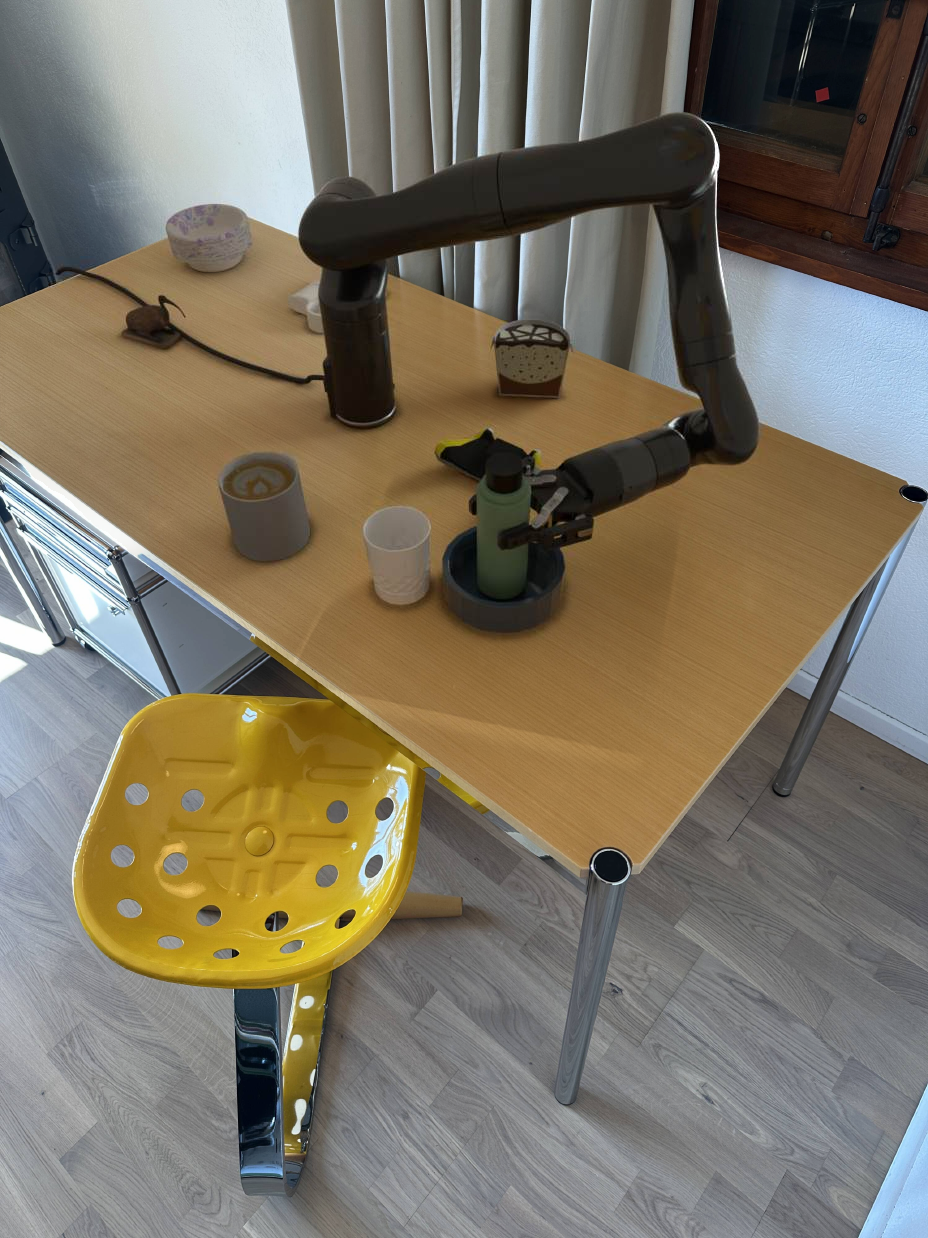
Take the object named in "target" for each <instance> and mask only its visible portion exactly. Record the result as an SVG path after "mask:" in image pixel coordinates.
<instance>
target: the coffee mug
mask: <svg viewBox="0 0 928 1238" xmlns="http://www.w3.org/2000/svg"><path fill="white" fill-rule="evenodd" d="M217 486H218V490H219V493H220V496H221V501H222V504H223V507H224V510H225V514H226V517H227V521H228V524H229V527H230V531H231V535H232V538H233V542H234V545H235V548H236V549H237V551H238V552H239V553H240V555H243V556H244V557H246V558H247V559H250V560H253V561H258V562H276V561H281V560H284V559H287V558H289V557H292V556H294V555H296V554H297V553H298V552H300V551H301V550H302V549H303V548H305V546H306V545H307V543H308V541H309V540H310V538H311V526H310V521H309V517H308V512H307V511H308V510H307V506H306V500H305V496H304V491H303V485H302V481H301V475H300V471H299V467H298V462H297V460H296V458H295V456H294V455H292V454H290V453H286V452H284V453H281V452H276V451H265V450H264V451H253V452H249V453H246V454H242V455H241V456H238V457H236V458H234V459H232V460H230V461H229V462H228V463H226V464H225V465H224V466H223V467H222V469H221V471H220V472H219V475H218V478H217Z"/></svg>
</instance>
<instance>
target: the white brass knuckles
mask: <svg viewBox="0 0 928 1238" xmlns="http://www.w3.org/2000/svg"><path fill="white" fill-rule="evenodd" d="M320 280H321V277H320V278H318V279H316V280H315V281H313V282H311V283H309V284H307V286H305V287H304V288H302V289H300V290H299V291H297V292H296V293H294V294H292V295H290V296H288V297H287V304H288V306H289V307H290V308H291V309H292V310H293V311H295V312H297V313H300V314H302V315H303V316H306V319H307V324H308V328H309V329H310V330H311V331H313V332H314V333H317V334H324V332H323V325H322V319H321V312H320V306H319V299H318V289H319V284H320Z"/></svg>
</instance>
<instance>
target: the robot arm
mask: <svg viewBox="0 0 928 1238" xmlns="http://www.w3.org/2000/svg"><path fill="white" fill-rule="evenodd" d="M720 160H721V159H720V149H719V145H718V141H717V139H716V137H715V134H714V132H713V130H712V129H711V127H710V126H709V125H708V124H707V122H705V121H704V119H702V118H701V117H699V116H697V115H696V114H693V113H690V112H682V111H676V112H675V111H674V112H668V113H665V114H662V115H659V116H656V117H654V118H650V119H648V120H645V121H642V122H640V123H637V124H634V125H631V126H627V127H625V128H621V129H618V130H615V131H611V132H609V133H606V134H603V135H600V136H595V137H592V138H588V139H583V140H577V141H567V142H557V143H547V144H541V145H534V146H528V147H521V148H515V149H509V150H504V151H503V150H502V151H498V152H493V153H489V154H484V155H480V156H476V157H472V158H468V159H465V160H461V161H459V162H456V163H453V164H451V165H449V166H447V167H445V168H443V169H441V170H438V171H436V172H435V173H433V174H430V175H429V176H428V175H427V177H424V178H423V179H420V180H419V181H416V182H415V183H413V184H410V185H409V186H406V187H405V188H402V189H400V190H399V189H398V190H397V191H394V192H390V193H386V194H381V195H377V194H376V192H375V191H374V189H373V188H372V187H371V186H370V185H368V183H366V182H365V181H363V180H362V179H359V178H357V177H354V176H345V175H344V176H338V177H336V178H332V179H331V180H329V181H327V183H326V184H325V185H323V186H322V188H321V189H320V190H319V191H318V193H317V194H316V195H315V197H314V198H312V200H311V201H310V203H309V204H308V205H307V206H306V209H305V210H304V212H303V214H302V216H301V219H300V221H299V225H298V230H297V231H298V232H297V233H298V234H297V235H298V242H299V246H300V249H301V251H302V253H303V254H304V255H305V256H306V258H307V259H308V260H310V261H311V262H312V263H313V264H315V265H316V266H318V267H320V268H321V273H320V274H321V275H320V278H321V280H320V284H319V289H318V299H319V306H320V312H321V319H322V325H323V332H324V333H323V339H324V344H325V351H326V356H325V357H324V359H323V361H322V370H323V374H310V375H307V377H305V378H304V377H297V376H292V375H288V374H286V373H283V372H279V371H275V370H273V369H270V368H266V367H263V366H260V365H256V364H253V363H249V362H246V361H243V360H240V359H238V358H235V357H233V356H230V355H227V354H225V353H223V352H220V351H218V350H216V349H214V348H212V347H210V346H208V345H206V344H204V343H202V342H200V341H199V340H196V339H195V338H194V337H192V336H191V335H189V334H187V333H186V332H185V331H183V330H182V329H180V328H178V326H176V325H174V324H173V323H172V322H170V321H169V324H168V325H167V326H166V327H168V329H173V330H176V332H179V333H180V334H181V336H182V337H183V338H182V339H185V340H186V341H188V342H189V343H190V344H192V345H194V346H196V347H197V348H199V349H201V350H203V351H204V352H207V353H209V354H210V355H213V356H214V357H217V358H218V359H222V360H224V361H226V362H229V363H232V364H234V365H237V366H240V367H242V368H246V369H249V370H252V371H254V372H255V371H256V372H258V373H262V374H265V375H268V376H271V377H274V378H278V379H282V380H285V381H288V382H292V383H295V384H302V385H308V384H310V383H311V381H322V383H323V388H324V392H325V393H326V396H327V402H328V408H329V414H330V418H331V419H336V420H337V421H338V422H339V423H341V424H342V425H344V426H345V427H349V428H354V429H371V428H376V427H379V426H382V425H384V424H386V423H387V422H389V421H390V420H392V419H393V417H394V416H395V414H396V411H397V403H396V397H395V389H396V385H395V383H394V376H393V375H394V374H393V365H392V355H391V344H390V343H391V342H390V341H391V340H390V332H389V329H390V328H389V320H388V309H387V287H388V279H389V271H388V270H389V264H388V260H389V259H392V258H395V257H399V256H403V255H406V254H411V253H417V252H423V251H428V250H429V251H430V250H436V249H443V248H449V247H454V246H460V245H466V244H471V243H479V242H486V241H491V240H497V239H505V238H508V237H510V238H511V237H514V236H515V237H516V236H519V235H524V234H529V233H532V232H535V231H538V230H541V229H544V228H548V227H552V226H554V225H556V224H558V223H561V222H564V221H566V220H569V219H571V218H574V217H577V216H579V215H583V214H584V213H589V212H593V211H597V210H605V209H612V208H613V209H614V208H621V207H622V208H623V207H632V206H633V207H634V206H650V205H651V206H652V209H653V212H654V215H655V219H656V222H657V225H658V228H659V231H660V236H661V241H662V244H663V245H662V246H663V250H664V256H665V264H666V271H667V272H666V273H667V274H666V275H667V288H668V289H667V290H668V291H667V292H668V308H669V309H668V310H669V322H670V330H671V338H672V339H671V340H672V346H673V352H674V359H675V366H676V372H677V375H678V380H679V383H680V385H681V387H682V388H683V389H684V390H686V391H688V392H691V393H694V394H696V395H697V396H698V398H699V399H700V402H701V405H702V407H701V408H696V409H693V410H689V411H687V412H684V413H682V414H679V415H678V416H676V417H674V418H673V419H671V420H669V421H667V422H665V423H664V424H663V425H661V426H660V427H659V428H654V429H651V430H647V431H645V432H642V433H639V434H636V435H634V436H632V437H629V438H625V439H619V440H615V441H612V442H609V443H606V444H604V445H600V446H598V447H595V448H592V449H590V450H587V451H585V452H582V453H579V454H576V455H573V456H570V457H569V458H566V459H565V460H564V461H563V462H561V464H560V465H558V467H556V468H553V469H542V468H541V469H540V468H538V467H537V466H536V465H535V458H534V457H531V456H529V457H526V458H524V459H522V462H523V475H524V476H525V478H526V480H527V482H528V483H529V484H530V487H531V504H530V509H531V510H533V511H535V512H536V514H537V515H536V516H535V517H534V518H533V519H532V520H531V521H530V523H529V524H528V523H527V522H525V523H523V524H520V525H518V526H515V527H512V528H510V529H507V530H505V531H502V532H500V533H499V534H498V543H497V545H498V547H499V548H500V549H501V550H505V549H507V550H510V549H514V548H516V547H519V546H522V545H524V544H527V543H529V542H532V543H540V544H542V545H543V549H544V550H546V551H551V550H554V549H558V548H560V549H561V548H565V547H569V546H572V545H575V544H578V543H582V542H586V541H589V540H592V538H593V533H594V526H595V525H594V524H595V519H594V518H596V517H598V516H601V515H604V514H606V513H609V512H611V511H613V510H616V509H618V508H621V507H624V506H626V505H628V504H631V503H633V502H636V501H638V500H639V499H641V498H643V497H644V496H647V495H648V494H651V493H653V492H656V491H659V490H661V489H664V488H666V487H669V486H671V485H673V484H675V483H677V482H679V481H681V480H682V479H684V478H685V477H686V476H687V474H688V473H689V472H690V470H691V468H694V467H698V466H703V465H714V466H715V465H716V466H738V465H742V464H743V463H745V462H747V461H748V460H749V459H751V457H752V456H753V455H754V453H755V452H756V450H757V447H758V444H759V441H760V433H761V432H760V431H761V428H760V420H759V417H758V416H759V415H758V413H757V410H756V407H755V404H754V402H753V399H752V397H751V394H750V391H749V389H748V387H747V384H746V381H745V380H744V379H745V378H744V377H743V375H742V373H741V371H740V368H739V366H738V359H737V350H736V344H735V343H736V342H735V336H734V335H735V334H734V329H733V322H732V316H731V309H730V304H729V299H728V294H727V289H726V283H725V278H724V272H723V268H722V261H721V256H720V247H719V237H718V227H717V226H718V225H717V223H718V221H717V189H718V188H717V185H718V184H717V183H718V171H719V167H720ZM65 272H71V273H74V274H78V275H82V276H84V277H87V278H91V279H94V280H97V281H100V282H102V283H105V284H107V285H108V286H110V287H112V288H114V289H116V290H118V291H119V292H121V293H123V294H125V295H126V296H128V297H129V298H130V299H132V300H133V301H135V302H136V303H138V304H139V305H140V306H141V307H144V306H149V305H150V304H148V303H147V302H146V301H145V300H143V299H142V298H140V297H139V296H138V295H136V294H135V293H134V292H131V291H130V290H128V289H127V288H125V287H123V286H121V285H119V284H118V283H116V282H114V281H112V280H111V279H109V278H106V277H104V276H102V275H98V274H95V273H92V272H89V271H86V270H83V269H81V268H80V269H79V268H76V267H72V266H62V267H59V268H58V269H57V270H56V272H55V276H61V275H62V274H63V273H65ZM468 512H469V513H470V514H471V515H472V516H477V493H475V494H473V495H472V496H471V497H470V498H469V500H468Z"/></svg>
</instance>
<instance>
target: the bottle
mask: <svg viewBox="0 0 928 1238" xmlns="http://www.w3.org/2000/svg"><path fill="white" fill-rule="evenodd" d="M476 494H477V515H476V526H477V584H478V587H479V588H480V590H481V591H482V592H483V593H484V594H486V595H487V596H489V597H492V598H496V599H509V598H512V597H515V596H517V595H519V594H520V593H521V592H522V591H523V590H524V588H525V586H526V579H527V560H528V543H527V544H524V545H522V546H519V547H516V548H514V549H510V550H507V549H505V550H501V549H500V548H499V547H498V545H497V543H498V534H499V533H500V532H502V531H505V530H507V529H510V528H512V527H515V526H518V525H520V524H523V523H525V522H527V523H528V524H529V525H530V523H531V519H530V518H531V507H530V504H531V487H530V484H529V483H528V482H527V480H526V478H525V476H524V475H523V462H522V460H521V459H520V458H519V457H518V456H516V455H514V454H511V453H497V454H494V455H492V456H491V457H489V458H488V460H487V461H486V474H485V475H484V476H483V478H482V480H481V481H479V482H478V484H477V486H476Z"/></svg>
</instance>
